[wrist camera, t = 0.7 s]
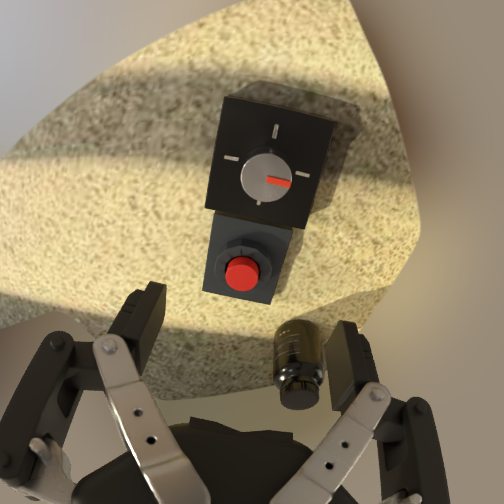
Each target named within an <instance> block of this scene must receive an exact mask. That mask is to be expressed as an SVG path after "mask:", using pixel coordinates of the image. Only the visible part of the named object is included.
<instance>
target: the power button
mask: <svg viewBox="0 0 504 504" xmlns="http://www.w3.org/2000/svg"><path fill="white" fill-rule="evenodd" d="M258 273H259V269H258V266H257V264H256V263H255V261H253V260H252V259H250V258H248V257H237V258H234V259H233V260H232V261H231V262H230V263H229V265H228V268H227V272H226V281H227V283H228V285H229V286H230V287H232V288H233V289H235V290H238V291H247V290H250V289H252V288H253V287H255V285H256V284H257V282H258Z"/></svg>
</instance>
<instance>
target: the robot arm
mask: <svg viewBox="0 0 504 504" xmlns="http://www.w3.org/2000/svg"><path fill="white" fill-rule="evenodd" d="M166 289H167V287H166V285H165V284H161V283H157V282H153V281H150V282H149V284H148V285H147V287H146V289H145V291H142V290H138V289H137V290H135V291H134V292H133V293H131V294H130V295H129V296H128V297H127V299H126V301H125V303H124V304H123V306H122V308H121V311H119V313H118V315H117V316H116V318H115V320H114V322H113V324H112V325H111V327H110V329H109V331H108V332H107V334H104V335H101V336H99V337H98V338H97V339H96V340H95V341H94V342H76V341H73V338H72V336H71V335H70V334H68V333H66V332H63V331H55V332H52V333H50V334H48V335H47V336H46V337H45V338H44V340H43V342H42V343H41V345H40V347H39V348H38V350H37V352H36V354H35V355H34V357H33V359H32V361H31V362H30V365H29V366H28V368H27V370H26V371H25V373H24V375H23V377H22V379H21V381H20V383H19V385H18V387H17V388H16V390H15V392H14V394H13V397H12V399H11V400H10V402H9V405H8V406H7V409H6V411H5V413H4V415H3V417H2V420H1V422H0V479H1V480H2V481H3V482H4V483H5V484H6V485H7V486H9V487H10V488H12V489H13V490H15V491H16V492H17V493H19V494H21V495H23V496H25V497H26V498H28V499H30V500H33V501H39V500H42V501H44V502H46V503H49V504H358V503H357V502H356V500H355V499H354V498H353V497H352V496H351V495H350V494H349V493H348V492H347V490H346V489H345V488H344V487H343V486H342V485H341V483H342V482H343V481H344V479H345V478H346V476H347V475H348V474H349V472H350V471H351V469H352V468H353V466H354V465H355V463H356V462H357V461H358V459H359V458H360V456H361V454H362V453H363V452H364V450H365V448H366V447H367V445H368V444H369V442H370V440H371V439H375V440H377V447H378V457H379V468H380V480H381V496H382V501H381V502H380V503H379V504H450V498H449V492H448V486H447V479H446V474H445V468H444V463H443V458H442V453H441V448H440V443H439V439H438V434H437V430H436V426H435V422H434V418H433V414H432V410H431V407H430V405H429V404H428V403H427V401H425V400H424V399H422V398H420V397H412V398H410V399H409V400H408V401H407V402H404V401H401V400H398V399H395V398H392V397H391V394H390V392H389V390H388V389H387V388H386V387H385V386H383V385H382V384H380V382H379V379H378V374H377V371H376V367H375V363H374V360H373V356H372V353H371V348H370V344H369V342H368V341H367V339H366V338H365V336H364V335H363V334H359V333H358V329H357V325H356V323H355V322H349V321H343V320H340V321H338V323H337V325H336V327H335V329H334V331H333V333H332V335H331V337H330V339H329V341H328V343H327V346H326V352H325V354H326V362H327V370H328V378H329V386H330V395H331V403H332V410H333V411H341V417H340V418H339V419H338V420H337V422H336V423H335V424H334V426H333V427H332V428H331V429H330V431H329V432H328V433H327V434H326V436H325V437H324V438H323V439H322V440H321V442H320V443H319V444H318V445H317V446H316V448H315V449H314V450H313V451H312V450H311V449H309V448H308V447H307V446H305V445H303V444H302V443H300V442H297V441H295V440H293V433H290V432H280V431H272V430H265V431H253V432H240V431H237V430H235V429H232V428H229V427H227V426H224V425H222V424H220V423H218V422H214V421H209V420H204V419H199V418H195V417H190V422H189V423H181V424H175V425H171V426H168V425H167V423H166V421H165V419H164V418H163V416H162V414H161V412H160V410H159V408H158V406H157V404H156V402H155V400H154V398H153V396H152V394H151V391H150V389H149V387H148V385H147V383H146V382H145V380H142V379H141V377H140V376H142V374H143V371H144V368H145V366H146V363H147V361H148V358H149V356H150V353H151V351H152V348H153V346H154V343H155V341H156V338H157V336H158V333H159V331H160V328H161V326H162V323H163V320H164V316H165V309H166ZM84 390H94V391H104V394H105V397H106V400H107V402H108V405H109V408H110V410H111V413H112V416H113V418H114V421H115V423H116V426H117V429H118V431H119V434H120V437H121V439H122V441H123V444H124V446H125V448H126V451H127V452H125V453H124V454H122V455H120V456H119V457H117V458H116V459H114V460H112V461H111V462H109V463H108V464H106V465H104V466H102V467H101V468H99V469H97V470H95V471H94V472H92V473H90V474H88V475H87V476H85V477H84V478H82V479H81V480H80V481H79V482H78V483H77V484H76V483H74V482H72V480H71V476H70V469H71V464H70V460H69V458H68V457H67V455H66V454H65V453H64V451H63V450H62V447H63V444H64V441H65V438H66V436H67V433H68V430H69V427H70V424H71V422H72V419H73V416H74V413H75V411H76V408H77V406H78V403H79V401H80V398H81V396H82V393H83V391H84Z"/></svg>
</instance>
